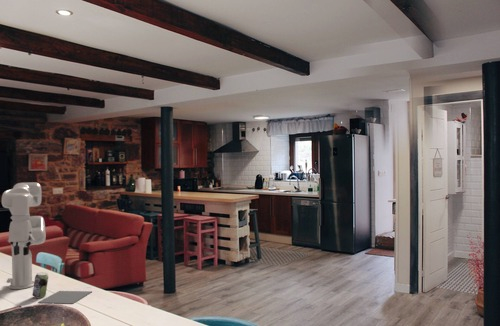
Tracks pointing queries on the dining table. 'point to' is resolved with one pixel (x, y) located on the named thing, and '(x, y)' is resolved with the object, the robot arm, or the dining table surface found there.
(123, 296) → the dining table surface
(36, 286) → the beverage can
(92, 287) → the dining table surface
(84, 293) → the rubber mat
